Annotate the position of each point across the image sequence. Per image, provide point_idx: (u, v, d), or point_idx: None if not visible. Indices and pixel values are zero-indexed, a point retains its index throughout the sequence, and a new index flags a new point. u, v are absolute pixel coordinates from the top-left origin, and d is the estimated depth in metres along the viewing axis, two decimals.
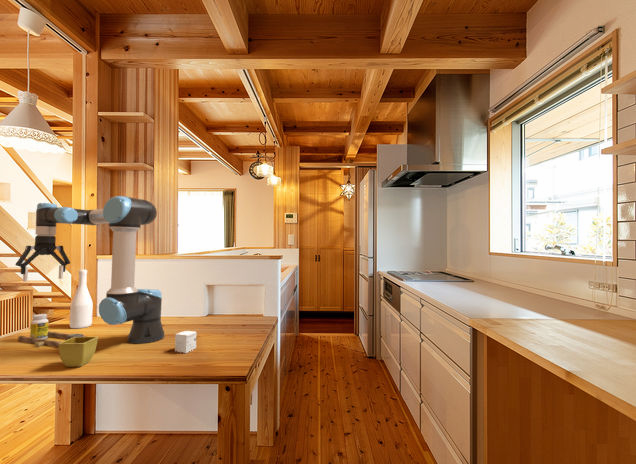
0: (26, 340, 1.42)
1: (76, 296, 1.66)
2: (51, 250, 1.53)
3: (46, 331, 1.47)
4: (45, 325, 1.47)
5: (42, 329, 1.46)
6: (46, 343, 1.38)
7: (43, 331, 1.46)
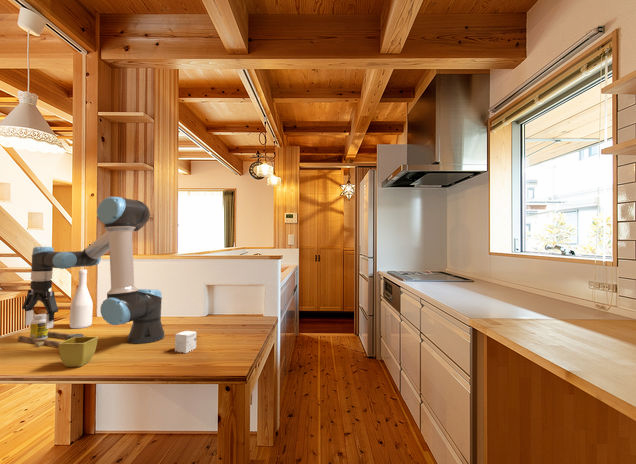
0: (26, 340, 1.42)
1: (76, 296, 1.66)
2: (39, 296, 1.45)
3: (46, 331, 1.47)
4: (45, 325, 1.47)
5: (42, 329, 1.46)
6: (46, 343, 1.38)
7: (43, 331, 1.46)
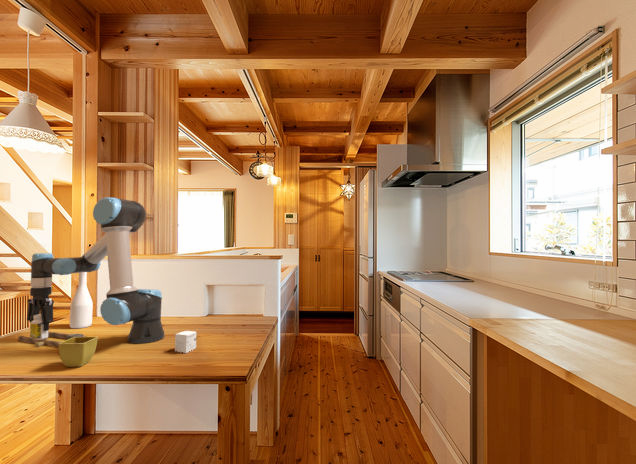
0: (26, 340, 1.42)
1: (76, 296, 1.66)
2: (38, 303, 1.45)
3: None
4: None
5: None
6: (46, 343, 1.38)
7: None
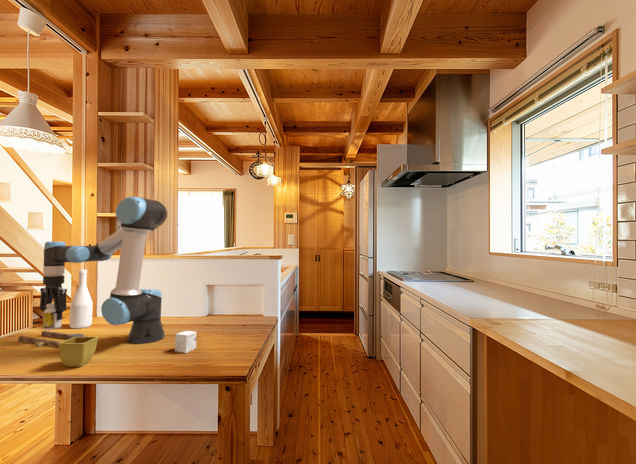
0: (26, 340, 1.42)
1: (76, 296, 1.66)
2: (51, 292, 1.43)
3: None
4: None
5: None
6: (46, 343, 1.38)
7: None
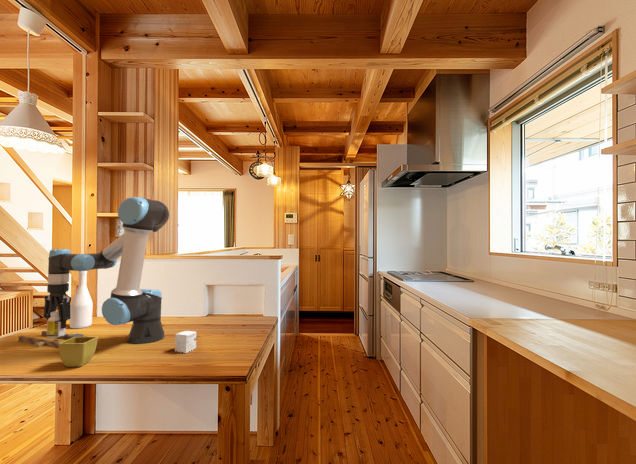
0: (26, 340, 1.42)
1: (76, 296, 1.66)
2: (55, 300, 1.42)
3: None
4: None
5: None
6: (46, 343, 1.38)
7: None
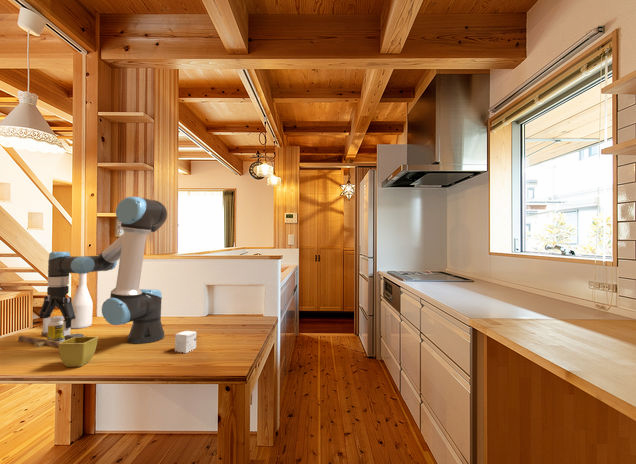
0: (26, 340, 1.42)
1: (76, 296, 1.66)
2: (56, 302, 1.42)
3: None
4: (62, 327, 1.43)
5: (59, 331, 1.42)
6: (46, 343, 1.38)
7: (61, 333, 1.43)
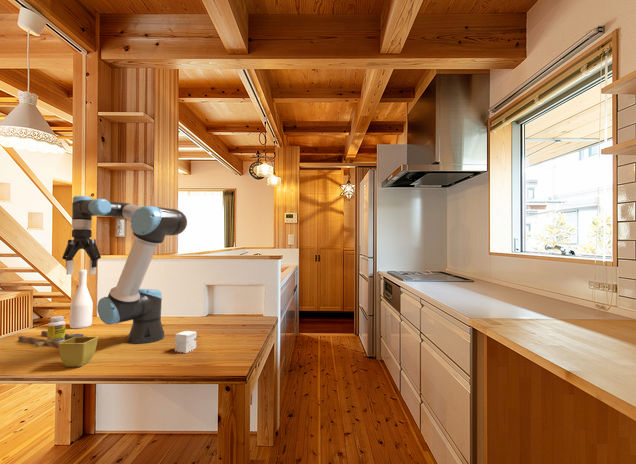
0: (26, 340, 1.42)
1: (76, 296, 1.66)
2: (80, 244, 1.48)
3: (63, 333, 1.44)
4: (62, 328, 1.43)
5: (59, 331, 1.42)
6: (46, 343, 1.38)
7: (61, 333, 1.43)
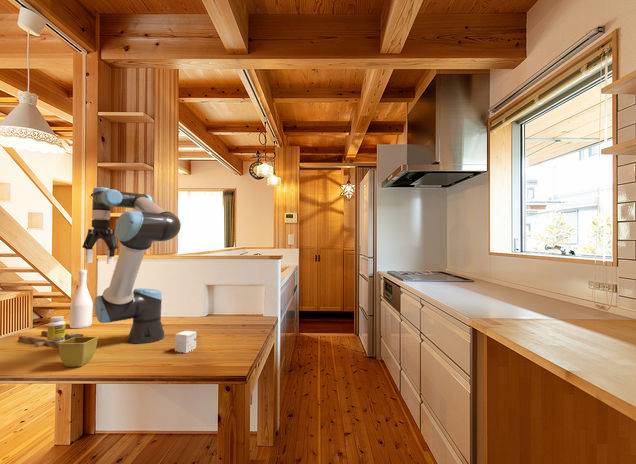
0: (26, 340, 1.42)
1: (76, 296, 1.66)
2: (100, 233, 1.53)
3: (63, 333, 1.44)
4: (62, 328, 1.43)
5: (59, 331, 1.42)
6: (46, 343, 1.38)
7: (61, 333, 1.43)
